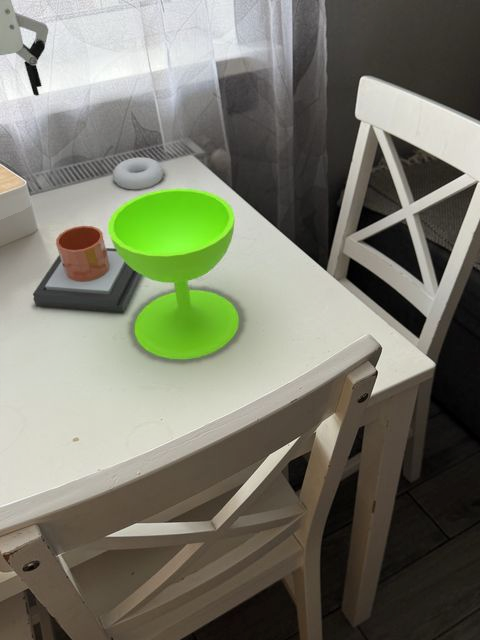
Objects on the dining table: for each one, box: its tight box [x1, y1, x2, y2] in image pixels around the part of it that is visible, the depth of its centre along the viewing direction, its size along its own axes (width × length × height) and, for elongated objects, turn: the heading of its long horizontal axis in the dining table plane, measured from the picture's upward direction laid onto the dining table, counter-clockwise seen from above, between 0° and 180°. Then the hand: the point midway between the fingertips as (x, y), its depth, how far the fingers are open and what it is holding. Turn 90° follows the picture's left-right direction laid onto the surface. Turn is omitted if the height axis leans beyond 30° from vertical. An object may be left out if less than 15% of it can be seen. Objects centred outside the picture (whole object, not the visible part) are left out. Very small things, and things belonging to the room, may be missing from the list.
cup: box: [55, 225, 110, 282], centre depth 90 cm, size 7×7×6 cm
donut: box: [112, 156, 164, 191], centre depth 119 cm, size 10×4×10 cm
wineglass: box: [107, 188, 240, 360], centre depth 82 cm, size 16×16×18 cm
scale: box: [32, 247, 143, 314], centre depth 94 cm, size 14×13×4 cm
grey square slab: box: [45, 251, 126, 295], centre depth 93 cm, size 10×10×2 cm
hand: (1, 97), depth 84 cm, fingers open, 9 cm apart
